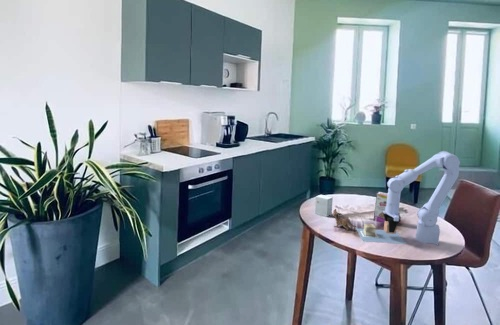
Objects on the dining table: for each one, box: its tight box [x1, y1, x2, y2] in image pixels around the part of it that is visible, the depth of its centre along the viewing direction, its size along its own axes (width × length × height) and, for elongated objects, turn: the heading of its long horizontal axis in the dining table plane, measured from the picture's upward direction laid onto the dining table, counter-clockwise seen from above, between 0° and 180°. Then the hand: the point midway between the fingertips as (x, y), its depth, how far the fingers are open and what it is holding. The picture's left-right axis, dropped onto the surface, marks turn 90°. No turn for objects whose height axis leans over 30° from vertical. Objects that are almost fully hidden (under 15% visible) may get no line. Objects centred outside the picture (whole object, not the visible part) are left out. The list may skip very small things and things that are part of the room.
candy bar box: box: [373, 191, 388, 224], centre depth 194 cm, size 11×5×16 cm, turn 58°
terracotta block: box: [383, 221, 398, 234], centre depth 174 cm, size 4×4×4 cm
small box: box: [314, 194, 333, 218], centre depth 206 cm, size 8×6×10 cm
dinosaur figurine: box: [332, 209, 357, 231], centre depth 185 cm, size 14×6×9 cm, turn 49°
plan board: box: [355, 227, 407, 245], centre depth 177 cm, size 20×16×1 cm
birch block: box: [363, 223, 377, 236], centre depth 177 cm, size 4×4×4 cm
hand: (389, 230), depth 175 cm, fingers closed on terracotta block, 4 cm apart
